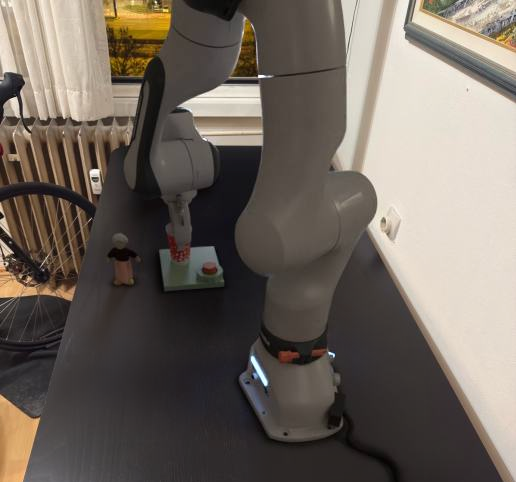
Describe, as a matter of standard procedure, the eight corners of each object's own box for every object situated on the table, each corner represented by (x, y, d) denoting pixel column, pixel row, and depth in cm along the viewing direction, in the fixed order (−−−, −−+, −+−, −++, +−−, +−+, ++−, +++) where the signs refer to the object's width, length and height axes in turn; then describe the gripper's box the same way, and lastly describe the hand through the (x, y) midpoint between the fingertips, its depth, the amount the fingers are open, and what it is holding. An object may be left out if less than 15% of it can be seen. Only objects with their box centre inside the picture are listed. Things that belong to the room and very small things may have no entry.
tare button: (217, 274, 112) (217, 268, 111) (203, 275, 112) (203, 269, 111) (215, 267, 115) (215, 260, 114) (201, 267, 114) (201, 261, 113)
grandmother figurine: (109, 288, 110) (101, 239, 102) (109, 278, 113) (100, 230, 104) (143, 284, 112) (138, 236, 103) (142, 275, 115) (136, 228, 106)
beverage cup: (179, 250, 121) (176, 199, 112) (198, 259, 119) (196, 207, 109) (162, 261, 117) (158, 208, 108) (181, 270, 115) (178, 217, 105)
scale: (224, 286, 114) (224, 276, 111) (164, 291, 111) (163, 280, 109) (213, 250, 125) (213, 240, 123) (159, 254, 122) (158, 244, 120)
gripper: (197, 207, 98) (198, 263, 108) (186, 166, 113) (188, 219, 122) (166, 208, 97) (170, 265, 106) (158, 167, 112) (163, 221, 121)
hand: (179, 240), depth 114 cm, fingers closed on beverage cup, 6 cm apart
